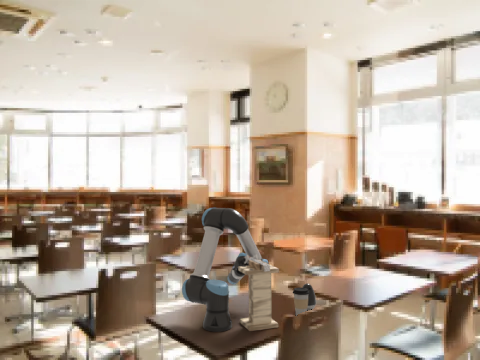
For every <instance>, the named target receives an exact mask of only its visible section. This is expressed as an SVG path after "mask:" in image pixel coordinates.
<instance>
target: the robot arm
mask: <svg viewBox="0 0 480 360" xmlns="http://www.w3.org/2000/svg"><path fill="white" fill-rule="evenodd" d="M201 223H202V226H203V230H204V234H203V238H202V242H201V245H200V248H199V252H198V255H197V256H198V257H197V260H196V263H195V267H194V271H193V273H190V275H189V278H187V279H185V281H183V282H182V286H181V294H182V296H183V299H184V300H185V301H187V302H190V303H195V304H200V305H205V310H206V311H205V315H204V319H203V322H202V329H203V330H206V331H208V332H216V333H218V332H219V333H220V332H225V331H230V329H232V327H233V322H232V318H231V315H230V311H229V309H230V308H229V306H230V305H229V304H230V302H229V301H230V298H229V296H230V290H229V285H228V283H229V284H231V285H236V284H238V283H239V282H240V281H241V280H242V278H244V277H245V276H246V274H244V273H242V272H241V271H239V270H238V266H249V264H248V263H246V262H247V261H248V260H249V256H250V257H252V258H254V259H257V260H261V261H263V262H266V263H268V264H269V261H268V259H265V258H263V257H262V255H261V253H260V251H259V248H258V247H257V245H256V243H255V241H254V239H253V237H252V235H251V234H252V233H251V232H250V230H249V224H248V222H247V220H246V219H245V217H244V216H243V215H242V214H241V213H240V212H239V211H237V210H235V209H234V208H229V207H227V208H226V207H209V208H207V209H206V210H205V211H204V212H203V213H202V216H201ZM225 230H230V231H232V233H233V234H234V235H236V238H237V239H238V241H239V243H240V245H241V246H242V248H243V250H244V252H245V253H244V252H239V254H238V255H237V256H236V259H235V261H234V264H233V265H232V267H231V270H230V272H229V273H228V275H227V282H228V283H227V282H226V281H224V280H221V279H211V278H210V274H211V269H212V267H213V262H214V259H215V256H216V255H215V254H216V252H217V248H218V243H219V239H220V236H221V235H223V234H224V231H225ZM269 265H270V264H269Z"/></svg>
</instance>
